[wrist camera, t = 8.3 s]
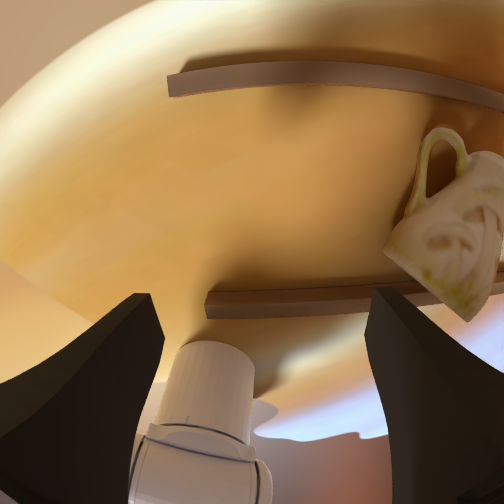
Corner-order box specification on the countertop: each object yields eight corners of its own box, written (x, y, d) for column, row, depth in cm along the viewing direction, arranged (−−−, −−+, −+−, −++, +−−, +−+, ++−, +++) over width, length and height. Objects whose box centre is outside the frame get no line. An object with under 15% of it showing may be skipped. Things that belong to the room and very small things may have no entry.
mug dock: (521, 279, 18) (529, 287, 17) (211, 305, 21) (207, 318, 20) (550, 116, 11) (562, 119, 10) (175, 77, 14) (166, 75, 12)
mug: (508, 174, 14) (546, 311, 9) (405, 217, 21) (415, 342, 17) (480, 97, 10) (556, 267, 6) (352, 164, 17) (357, 321, 13)
